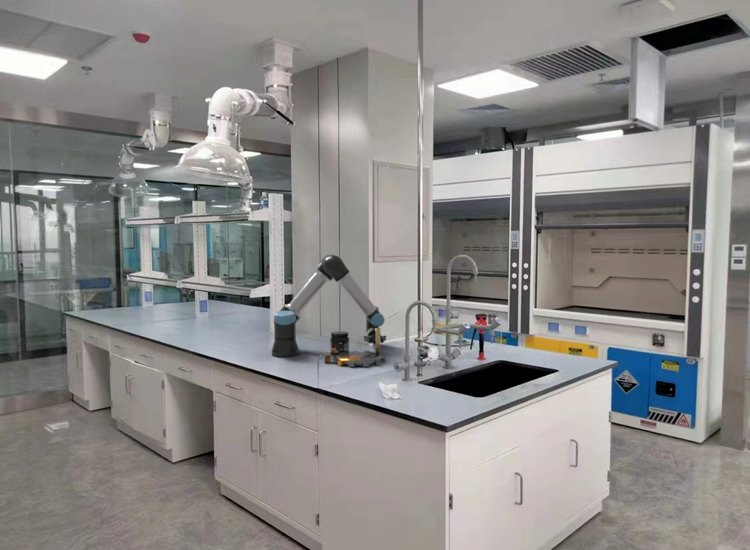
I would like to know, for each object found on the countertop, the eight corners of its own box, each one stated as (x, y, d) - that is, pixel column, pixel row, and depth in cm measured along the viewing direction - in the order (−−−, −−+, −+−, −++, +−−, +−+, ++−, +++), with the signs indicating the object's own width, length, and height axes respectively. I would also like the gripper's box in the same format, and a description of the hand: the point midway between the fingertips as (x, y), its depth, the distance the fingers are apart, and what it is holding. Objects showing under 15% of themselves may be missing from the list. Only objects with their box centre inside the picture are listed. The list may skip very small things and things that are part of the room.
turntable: (332, 367, 254) (332, 335, 253) (332, 355, 281) (332, 326, 280) (389, 366, 256) (388, 333, 255) (383, 354, 284) (383, 325, 283)
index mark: (324, 363, 265) (324, 355, 265) (324, 361, 269) (324, 353, 269) (330, 363, 266) (330, 355, 265) (330, 361, 270) (330, 353, 269)
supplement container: (326, 354, 287) (326, 332, 287) (341, 351, 294) (341, 330, 293) (337, 357, 279) (337, 335, 279) (353, 354, 286) (353, 332, 286)
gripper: (385, 341, 301) (389, 350, 278) (362, 342, 300) (365, 350, 277) (385, 329, 301) (389, 336, 277) (362, 329, 300) (365, 336, 276)
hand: (377, 343), depth 277 cm, fingers closed
